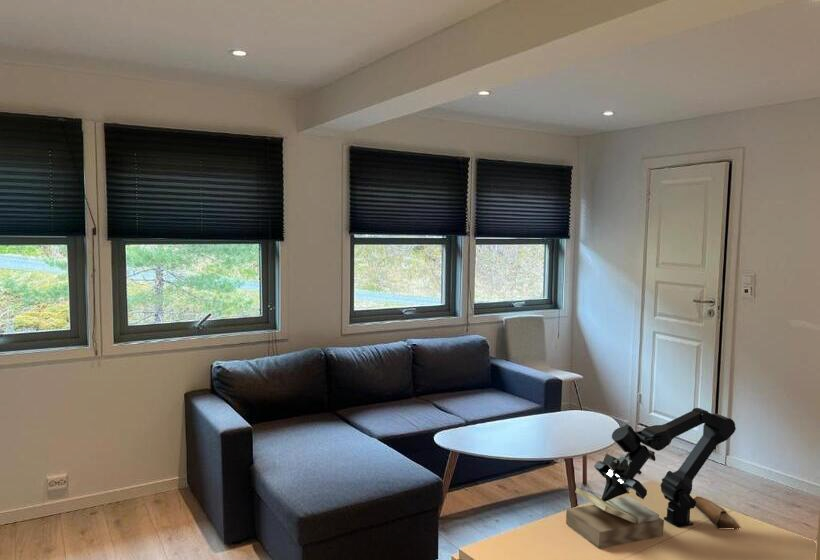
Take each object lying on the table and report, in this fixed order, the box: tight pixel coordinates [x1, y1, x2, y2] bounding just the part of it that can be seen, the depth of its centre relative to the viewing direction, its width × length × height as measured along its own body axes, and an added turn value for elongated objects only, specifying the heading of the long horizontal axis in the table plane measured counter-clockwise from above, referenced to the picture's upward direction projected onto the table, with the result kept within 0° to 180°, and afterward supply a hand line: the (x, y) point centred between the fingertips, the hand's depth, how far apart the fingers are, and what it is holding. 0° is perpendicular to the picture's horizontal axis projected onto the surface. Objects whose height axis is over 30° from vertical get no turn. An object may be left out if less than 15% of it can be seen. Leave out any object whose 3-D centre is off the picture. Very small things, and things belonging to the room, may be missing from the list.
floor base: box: [565, 496, 665, 550], centre depth 185 cm, size 24×16×6 cm, turn 111°
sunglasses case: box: [693, 496, 742, 530], centre depth 196 cm, size 18×7×7 cm, turn 179°
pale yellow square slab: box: [574, 487, 637, 523], centre depth 183 cm, size 13×14×2 cm
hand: (603, 500), depth 183 cm, fingers closed
